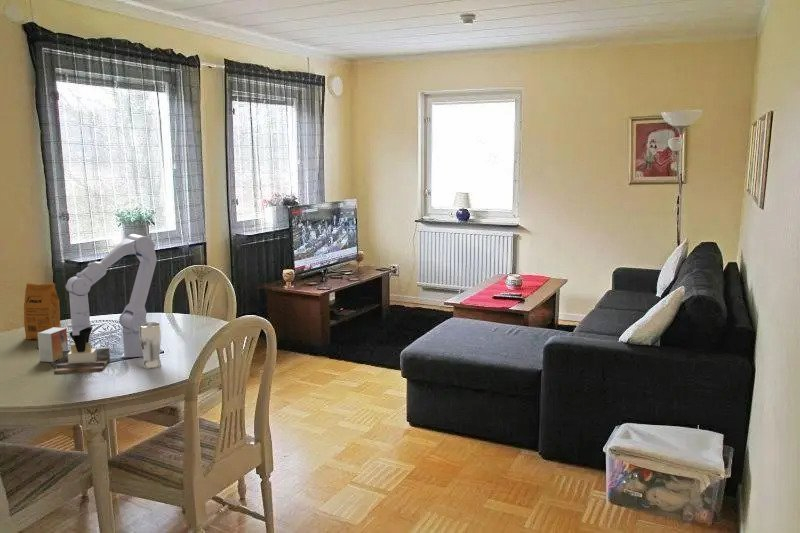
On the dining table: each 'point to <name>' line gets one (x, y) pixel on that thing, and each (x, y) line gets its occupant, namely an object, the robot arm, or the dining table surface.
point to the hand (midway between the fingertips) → (82, 349)
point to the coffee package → (40, 309)
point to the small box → (52, 344)
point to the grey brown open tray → (99, 365)
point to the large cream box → (82, 354)
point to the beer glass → (150, 344)
